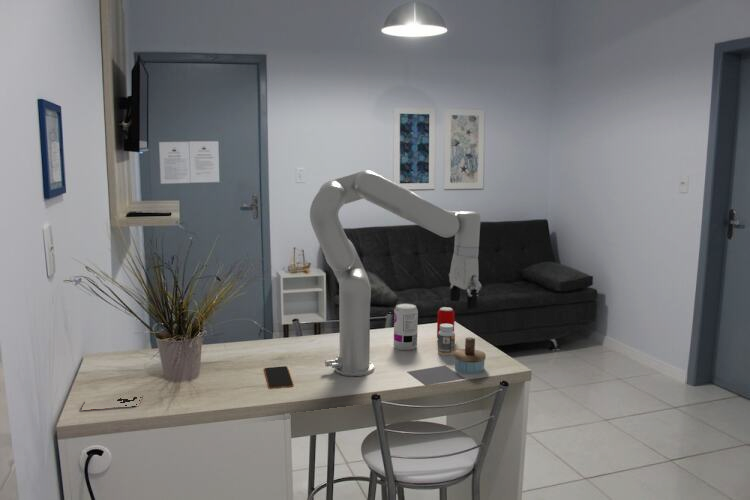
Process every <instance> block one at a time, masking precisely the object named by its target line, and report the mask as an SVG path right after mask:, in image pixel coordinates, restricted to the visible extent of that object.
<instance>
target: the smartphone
mask: <svg viewBox="0 0 750 500" xmlns="http://www.w3.org/2000/svg"><path fill="white" fill-rule="evenodd" d="M264 371H265V372H264ZM263 372H264V376H265V375H266V376H265V379H267V380H266V383H268V384H267V387H269V388H276V389H282V388H281V387H287V388H293V386H294V387H295V385H294V382H293V379H292V376H291V372H290V369H289V368H288V366H286V365H282V366H274V367H264V368H263ZM269 388H268V389H269Z"/></svg>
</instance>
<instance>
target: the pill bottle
mask: <svg viewBox="0 0 750 500" xmlns="http://www.w3.org/2000/svg"><path fill="white" fill-rule="evenodd" d="M453 328H454V329H455V325H454V326H453V325H452V324H441V325H440V331H439V332H438V338H437V352H438V354H440V355H442V356H451V355H454V352H455V346H456V345H455V343H456V342H455V341H456V340H455V339H456V332H455V330H454V331H453Z"/></svg>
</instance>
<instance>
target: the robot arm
mask: <svg viewBox="0 0 750 500" xmlns="http://www.w3.org/2000/svg"><path fill="white" fill-rule="evenodd" d="M360 200H365V201H367V202H369V203H371V204H374V205H375V206H378V207H379V208H382V209H384V210H386V211H387V212H390V213H392V214H393V215H396V216H398V217H400V218H401V219H403V220H406V221H409V222H412V223H413V224H415V225H417V226H420V227H421V228H423V229H425V230H427V231H430V232H432V233H433V234H434V235H437V236H440V237H442V238H451V237H454V247H453V253H452V254H453V255H452V259H451V264H450V269H449V270H450V271H449V273H448V278H449V281H448V282H449V285H450V286H449V289H450V299H449V300H450V301H451V302H458V301H460V296H461V289H462V290H466V292H467V294H468V296H467V298H466V309H467V310H473V309H477V302H478V301H477V299H478V297H479V293H480V292H481V288H482V283H481V282H480V280H479V258H478V257H479V251H480V250H479V247H480V231H481V221H482V220H481V219H482V218H481V215H480V213H478V212H476V211H467V210H465V211H453V210H448V209H443V208H442V207H439V206H438V205H435V204H433V203H431V202H429V201H427V200H425V198H422V197H421V196H420V195H418V194H416V193H415V192H413V191H412V190H410V189H408V188H406V187H404V186H402V185H399V183H395V182H394V181H392V180H390V179H388V178H385V177H383V176H382V175H380V174H377V173H376V172H374V171H372V170H368V169H367V170H366V169H365V170H361V171H359V172H356V173H353V174H349V175H346V176H342V177H339V178H335V179H332V180H331V179H330V180H328V181H327V182H325V183H323V184H322V185H321V187H320V188H319V190H318V191H317V193H316V195H315V196H314V198H313V199H312V202H311V205H310V209H309V220H310V224H311V226H312V229H313V232H314V235H315V237H316V239H317V241H318V244H319V246H320V249H321V250H322V253H323V255H324V258H325V261H326V263H327V265H328V266H329V267H330V268H331V270H332V271H333V274H334V276H335V278H336V280H337V282H338V285H339V286H338V287H339V289H338V291H339V293H338V295H339V306H338V307H339V310H338V311H339V315H338V316H339V318H338V319H339V321H338V322H339V354H337V355H336V357H335V358H333V359H327V360H324V365H325V367H331V368H332V369H334V371H335V372H336V373H337V374H340V375H343V376H345V377H346V376H348V377H362V376H366V375H369V374H371V373H373V372H374V371H375V365H374V363H372V362H371V361H370V357H371V356H370V346H371V344H370V343H371V342H370V341H371V340H370V338H371V336H370V335H371V334H370V333H371V332H370V331H371V330H370V328H371V326H370V325H371V321H370V320H371V318H370V317H371V315H370V314H371V295H372V292H371V291H372V290H371V289H372V288H371V287H372V286H371V283H370V280H369V276H368V273H367V271H366V270H365V268H364V267H365V266H364V265H363V263H362V260H361V259H360V256H359V254H358V252H357V250H356V247H355V245H354V243H353V242H352V240H350V239H349V238H348V236H347V235H346V232H345V230H344V226H343V225H342V223H341V221H340V218H339V212H340V209H342V207H343V206H345V205H347V204H350V203H354V202H356V201H357V202H358V201H360Z"/></svg>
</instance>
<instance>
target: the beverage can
mask: <svg viewBox="0 0 750 500" xmlns="http://www.w3.org/2000/svg"><path fill="white" fill-rule="evenodd" d="M455 315H456V314H455V311H454V309H453V308H452V307H447V306H443V307H440V308H439V310H437V324H436V325H437V328H436V338H437V339H438V332H439V331H440V325H441V324H452V325H453V326H454V328H453V331H454V332H455V318H456V317H455Z"/></svg>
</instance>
